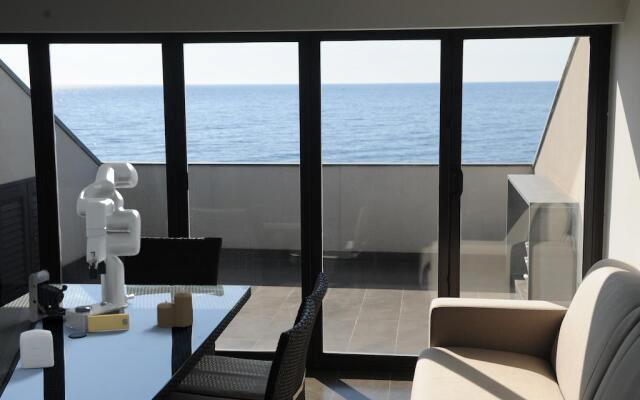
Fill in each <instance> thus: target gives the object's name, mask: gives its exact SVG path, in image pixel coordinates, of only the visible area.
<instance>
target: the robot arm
mask: <svg viewBox="0 0 640 400" xmlns="http://www.w3.org/2000/svg"><path fill="white" fill-rule="evenodd" d="M138 181H139V174H138V172H137V170H136V168H135V167H134V166H133V165H132V164H131V163H129V162H104V163H103V164H100V166H99V168H98V170H97V172H96V177H95V181H94V182H92V183H91V184H89V185H88V186H86V187H84V188H83V189H82V190H81V191H80V193H79V196H78V199H77V202H76V213H77V215H78V216H79V217H81V218H85V226H86V227H85V229H86V237H87V241H86V262H87V263H88V271H89V272H88V274H89V276H88V278H89V279H90V280H98V279H99V275H100V283H101V284H100V287H101V302H108V303H112V304H116V305H120V306H124V309H125V308H127V307H128V306H129V305H130V304H129V301H128V300H132V299H134V298H135V295H134V294H125V267H124V263H123V262H122V260H121V259H120V258H119V257H123V256H124V257H125V256H128V257H131V256H136V255H138V254H139V253H140V249H141V231H142V230H141V225H142V224H141V223H142V222H141V214H140V212H139V211H138V210H137V209H130V208H129V209H125V208H124V203H125V202H124V198H123V196H122V195H121V193H120V192H119V191H118V190H117V189H132V188H135V187H136V186H137V184H138ZM108 232H111V233H108ZM112 232H119V233H112ZM120 232H122V233H120ZM123 232H126V233H123ZM127 232H128V233H127Z"/></svg>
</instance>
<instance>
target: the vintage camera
mask: <svg viewBox="0 0 640 400" xmlns="http://www.w3.org/2000/svg"><path fill="white" fill-rule="evenodd" d="M68 287H69V286H68V285H66V284H62V285H61V288H59V287H58V286H55V285H52V284H50V273H49V271H48V270H46V269H42V270H41V271H38V272H37V271H36V272H32V273H31V274H30V275H29V276H28V314H29V317H28V319H29V320H30V322H32V323H36V322H39V321H40V320H42V318H43V319H44V318H45V319H46V317H48V316H61V317H62V316H65V317H66V310H68V309H69V308H65V307H62V306H60V304H61V303H62V302H63V301H64V298H65V293H64V292H66V291H67V290H68Z"/></svg>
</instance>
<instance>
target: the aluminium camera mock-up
mask: <svg viewBox="0 0 640 400" xmlns="http://www.w3.org/2000/svg"><path fill="white" fill-rule="evenodd" d="M67 309H68V310H66V315H65V327H67V326H69V327H68V328H70V327H72V328H71V329H73V328H75V329H74V330H77V329H78V330H77V331H80V330H81V331H80V332H83V331H84V333H86V332H85V315H89V316H99V315H114V314H126V313H125V308H124V306H120V305H116V304H112V303H108V302H102V301H100V302H97V303H91V304H87V305H80V306H79V305H78V306H75V307H74V308H73V307H72V308H67Z"/></svg>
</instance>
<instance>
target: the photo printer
mask: <svg viewBox="0 0 640 400" xmlns="http://www.w3.org/2000/svg"><path fill="white" fill-rule="evenodd" d="M53 341H54V340H53V335H52V332H51V331H50V330H48V329H47V330H46V329H31V330H30V329H29V330H26V331H24V332H21V333H20V337H19V350H20V367H21V369H22V370H23V369H36V368H38V369H40V368H50V367H51V368H52V367H54V365H55V361H54V359H55V358H54V357H55V356H54V342H53Z"/></svg>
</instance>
